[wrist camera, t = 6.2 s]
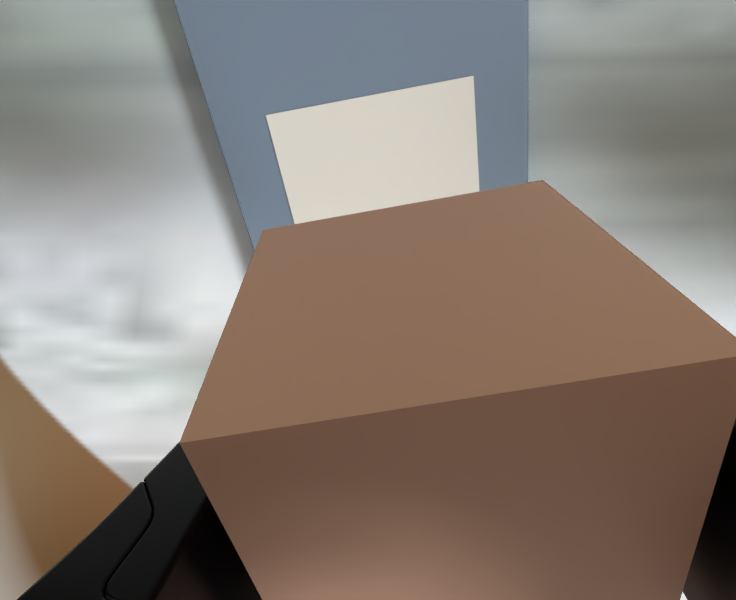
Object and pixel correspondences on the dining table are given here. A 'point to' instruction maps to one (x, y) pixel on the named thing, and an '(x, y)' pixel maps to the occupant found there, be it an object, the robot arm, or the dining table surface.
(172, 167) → the dining table surface
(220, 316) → the dining table surface
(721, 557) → the robot arm
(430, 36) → the baseplate
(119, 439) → the dining table surface
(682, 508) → the terracotta block
